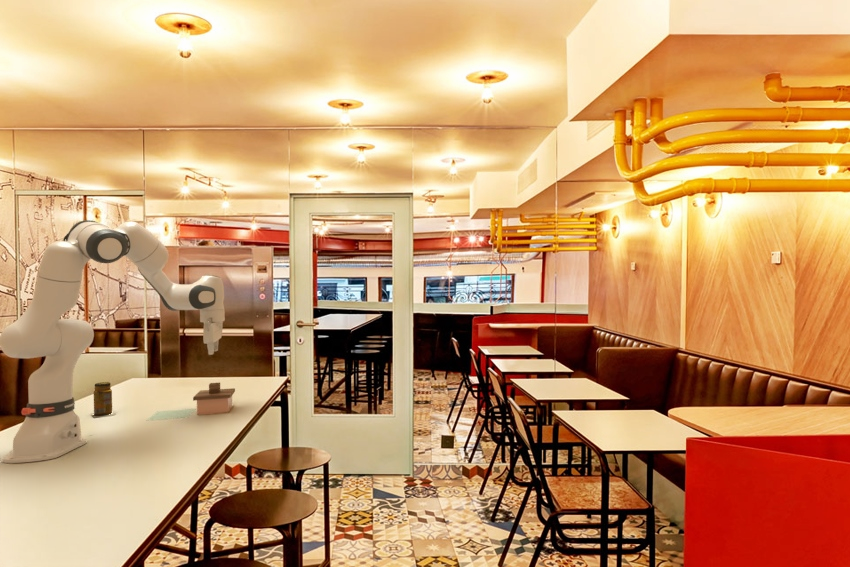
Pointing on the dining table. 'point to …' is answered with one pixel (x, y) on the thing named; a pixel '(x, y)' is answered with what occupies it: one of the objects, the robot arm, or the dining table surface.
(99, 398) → the condiment
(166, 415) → the pale green square mat
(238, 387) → the dining table surface
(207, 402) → the pink rectangular planter
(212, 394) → the walnut lid
